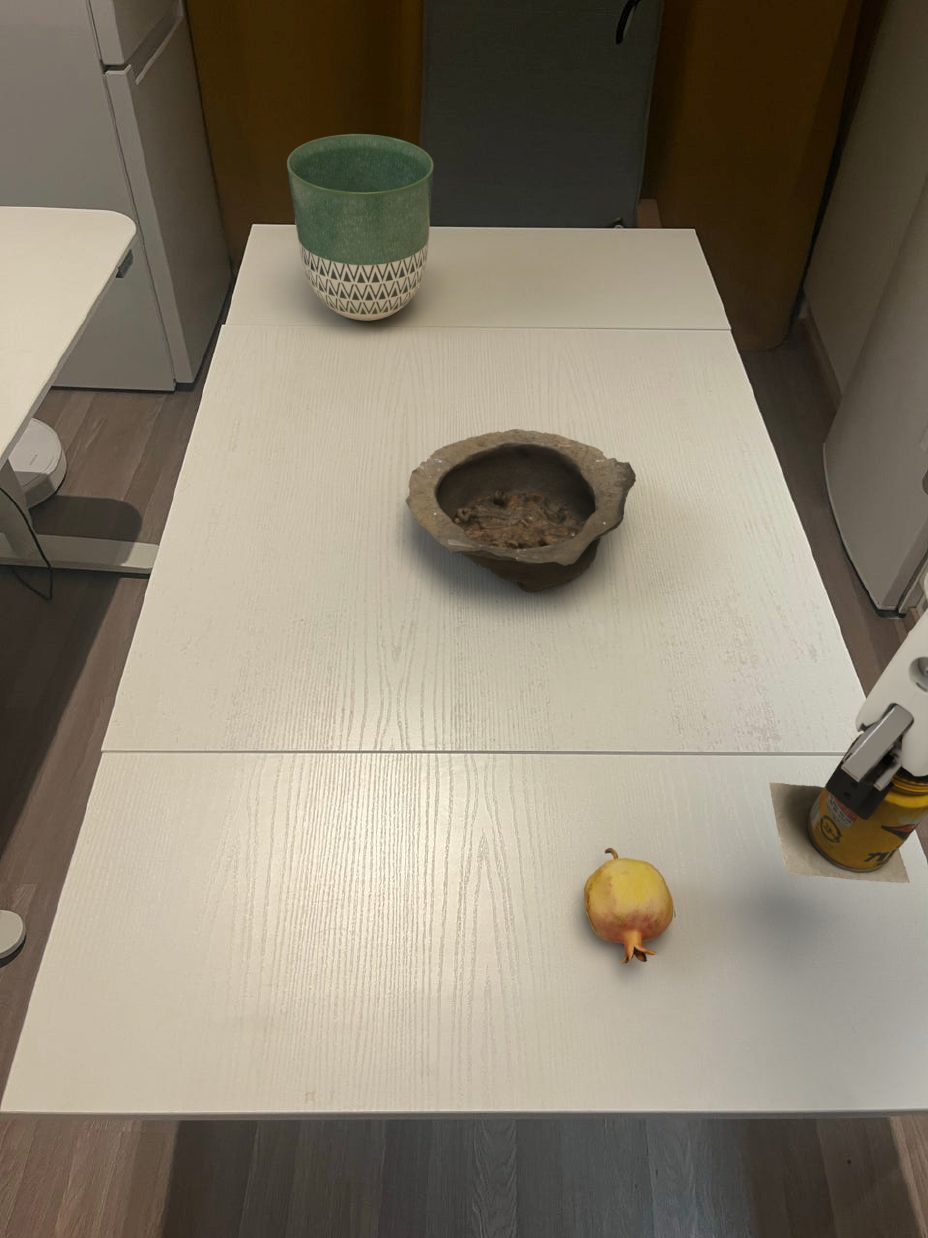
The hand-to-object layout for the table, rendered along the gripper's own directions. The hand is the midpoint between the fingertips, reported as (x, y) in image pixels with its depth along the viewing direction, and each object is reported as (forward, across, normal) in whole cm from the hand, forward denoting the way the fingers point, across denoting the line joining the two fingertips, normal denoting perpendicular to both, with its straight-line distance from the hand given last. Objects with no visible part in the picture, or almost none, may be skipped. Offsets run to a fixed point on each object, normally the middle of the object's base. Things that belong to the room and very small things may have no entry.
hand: (877, 773), depth 59 cm
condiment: (+7, 0, 0) cm, 7 cm away
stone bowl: (+20, +12, +48) cm, 53 cm away
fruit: (+21, -11, +8) cm, 25 cm away
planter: (+20, +26, +99) cm, 104 cm away
